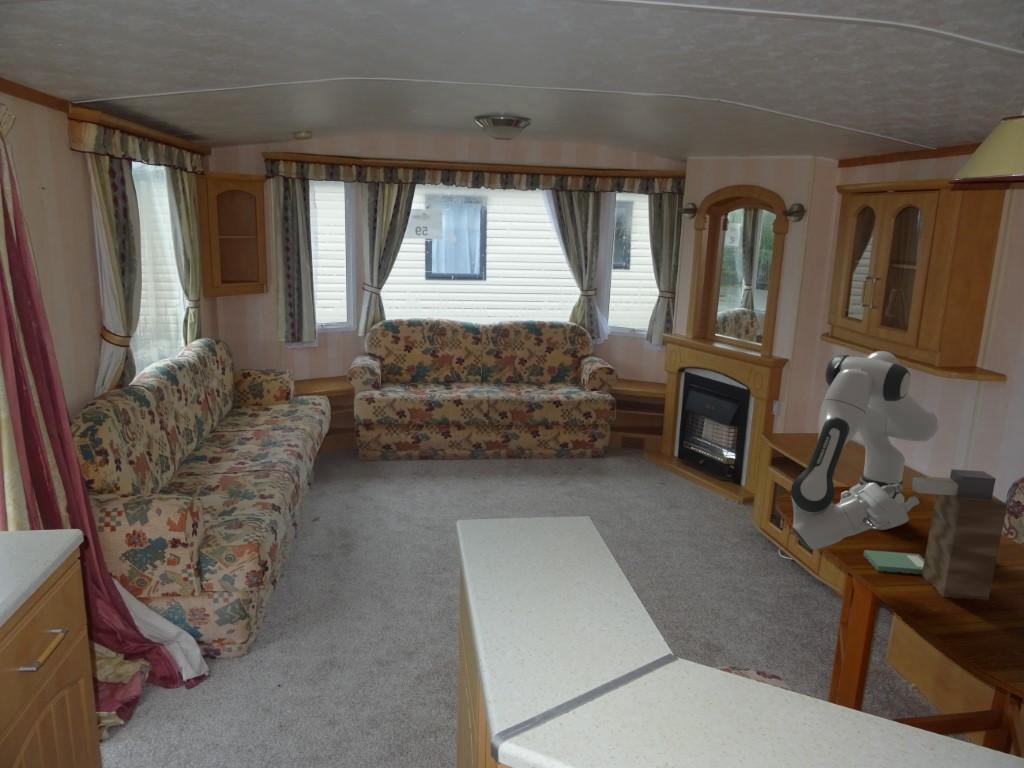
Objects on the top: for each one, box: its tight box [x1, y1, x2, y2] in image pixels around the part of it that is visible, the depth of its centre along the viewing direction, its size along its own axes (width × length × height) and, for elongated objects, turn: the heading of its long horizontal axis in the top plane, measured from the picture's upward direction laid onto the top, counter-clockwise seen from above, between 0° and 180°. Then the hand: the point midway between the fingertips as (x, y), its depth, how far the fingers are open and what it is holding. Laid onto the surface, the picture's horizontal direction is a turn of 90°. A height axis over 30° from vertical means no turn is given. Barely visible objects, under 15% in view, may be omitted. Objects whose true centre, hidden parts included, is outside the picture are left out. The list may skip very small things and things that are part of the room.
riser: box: [921, 494, 1008, 601], centre depth 190 cm, size 12×11×26 cm
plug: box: [911, 469, 997, 499], centre depth 187 cm, size 6×18×6 cm, turn 85°
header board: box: [863, 549, 925, 575], centre depth 204 cm, size 10×15×2 cm, turn 85°
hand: (909, 492), depth 188 cm, fingers open, 8 cm apart
